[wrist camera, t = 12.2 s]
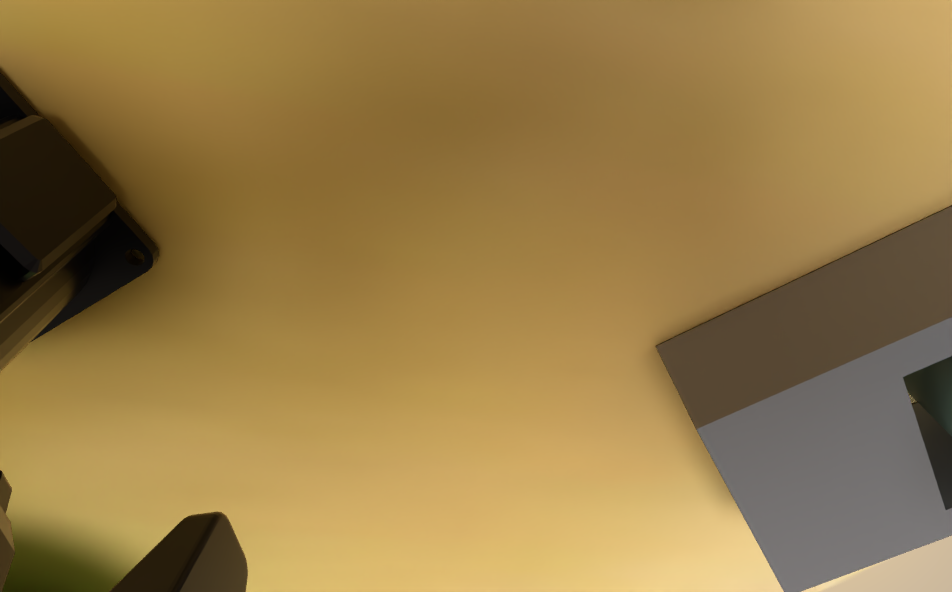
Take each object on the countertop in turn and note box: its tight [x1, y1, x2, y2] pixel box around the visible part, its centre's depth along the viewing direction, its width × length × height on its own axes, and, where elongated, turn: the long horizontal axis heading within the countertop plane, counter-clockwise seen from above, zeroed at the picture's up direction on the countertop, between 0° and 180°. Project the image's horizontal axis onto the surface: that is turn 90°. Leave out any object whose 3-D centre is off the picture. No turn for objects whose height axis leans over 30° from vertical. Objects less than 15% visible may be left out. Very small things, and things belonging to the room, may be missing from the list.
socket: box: [656, 206, 952, 592], centre depth 20 cm, size 12×8×4 cm, turn 120°
